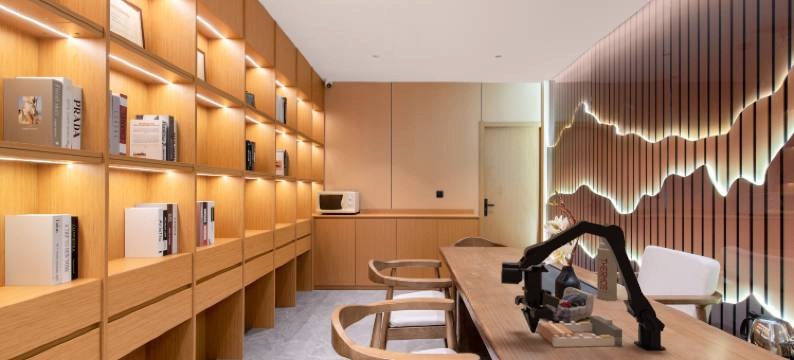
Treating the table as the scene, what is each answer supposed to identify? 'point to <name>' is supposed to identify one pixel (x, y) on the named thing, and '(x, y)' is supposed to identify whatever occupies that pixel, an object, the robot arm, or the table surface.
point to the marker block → (554, 331)
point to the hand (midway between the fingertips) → (533, 332)
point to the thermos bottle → (606, 274)
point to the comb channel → (598, 325)
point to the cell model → (573, 306)
